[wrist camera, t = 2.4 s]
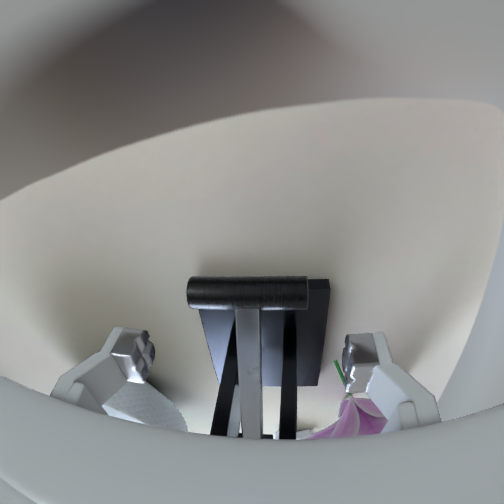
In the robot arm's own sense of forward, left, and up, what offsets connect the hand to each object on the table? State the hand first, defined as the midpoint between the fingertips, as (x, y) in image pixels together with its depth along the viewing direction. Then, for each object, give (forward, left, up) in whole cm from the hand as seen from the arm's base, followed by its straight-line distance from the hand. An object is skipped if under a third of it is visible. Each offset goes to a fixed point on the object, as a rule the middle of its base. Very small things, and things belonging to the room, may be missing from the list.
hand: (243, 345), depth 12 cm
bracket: (+6, -7, -9) cm, 13 cm away
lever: (+4, -4, -2) cm, 6 cm away
